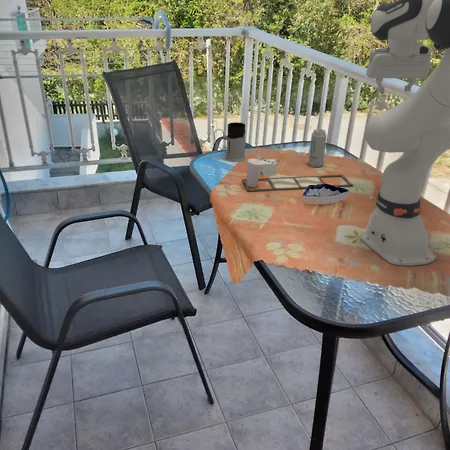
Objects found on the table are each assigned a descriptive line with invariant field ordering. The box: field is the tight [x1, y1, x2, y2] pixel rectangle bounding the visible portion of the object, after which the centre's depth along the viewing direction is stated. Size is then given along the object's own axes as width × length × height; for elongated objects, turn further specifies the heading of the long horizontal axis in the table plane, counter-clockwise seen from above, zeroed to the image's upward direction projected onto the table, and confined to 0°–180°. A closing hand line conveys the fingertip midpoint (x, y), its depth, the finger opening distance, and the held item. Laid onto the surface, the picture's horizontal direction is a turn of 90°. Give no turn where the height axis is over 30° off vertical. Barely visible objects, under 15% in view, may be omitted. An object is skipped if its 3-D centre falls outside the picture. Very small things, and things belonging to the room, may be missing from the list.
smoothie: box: [246, 150, 264, 188], centre depth 174 cm, size 6×6×14 cm
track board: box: [241, 174, 354, 193], centre depth 180 cm, size 11×41×1 cm, turn 98°
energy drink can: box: [308, 128, 327, 168], centre depth 194 cm, size 6×6×15 cm
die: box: [260, 159, 278, 177], centre depth 188 cm, size 5×5×5 cm
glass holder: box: [213, 121, 247, 163], centre depth 200 cm, size 9×14×15 cm, turn 105°
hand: (393, 91), depth 155 cm, fingers open, 8 cm apart
